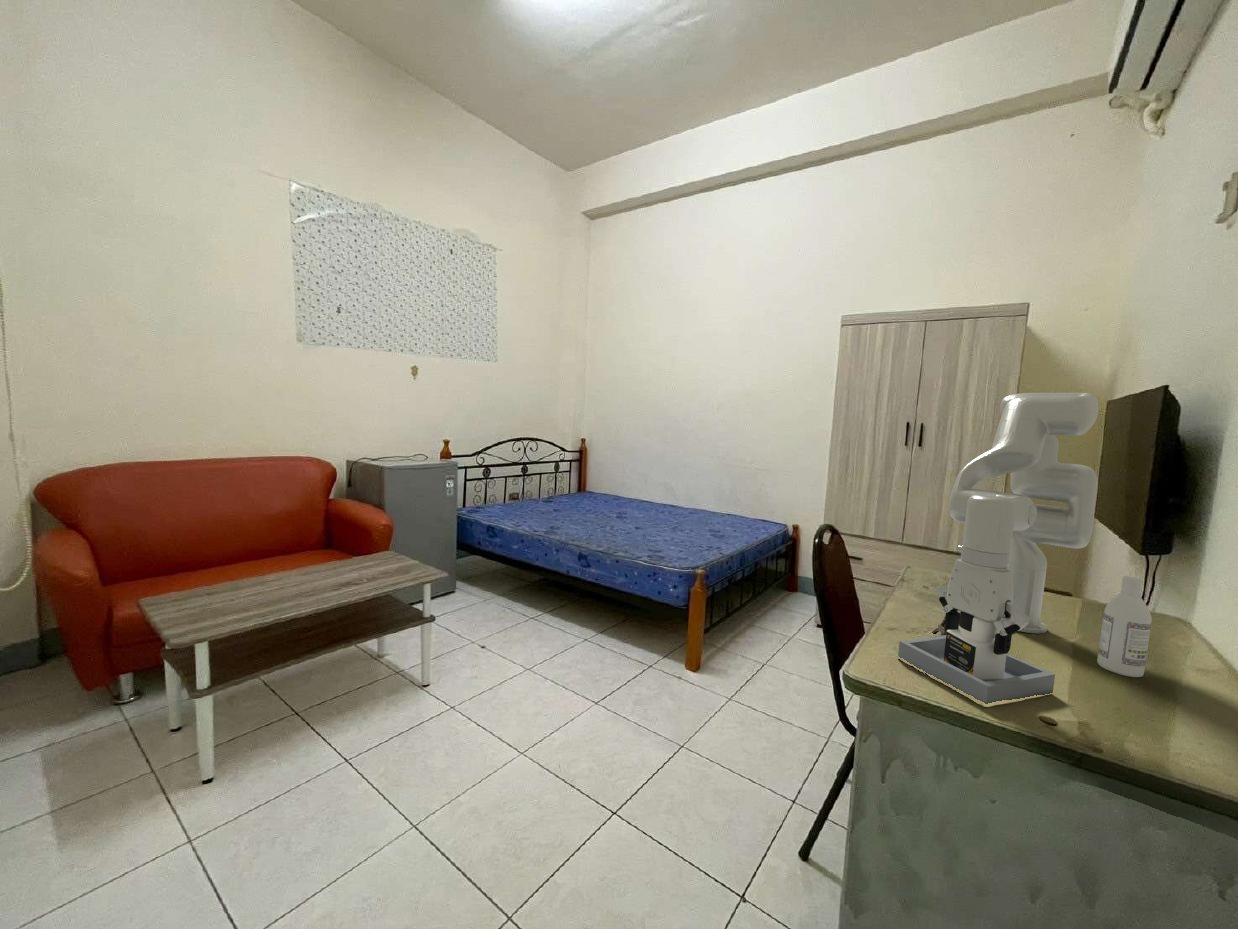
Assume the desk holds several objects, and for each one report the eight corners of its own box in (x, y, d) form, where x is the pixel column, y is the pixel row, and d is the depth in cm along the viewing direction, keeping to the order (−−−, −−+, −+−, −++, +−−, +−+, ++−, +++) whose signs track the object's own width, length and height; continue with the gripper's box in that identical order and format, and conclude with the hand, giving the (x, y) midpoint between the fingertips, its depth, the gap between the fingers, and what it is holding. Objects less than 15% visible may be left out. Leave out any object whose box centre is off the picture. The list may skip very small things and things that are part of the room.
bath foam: (1149, 674, 101) (1163, 581, 99) (1135, 681, 98) (1149, 585, 96) (1105, 659, 107) (1117, 571, 106) (1090, 665, 104) (1103, 574, 103)
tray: (897, 659, 102) (899, 641, 102) (958, 650, 108) (960, 633, 108) (985, 708, 85) (988, 686, 85) (1052, 694, 91) (1055, 674, 91)
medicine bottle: (942, 662, 100) (948, 606, 99) (973, 661, 101) (979, 606, 100) (971, 681, 93) (978, 620, 92) (1004, 680, 94) (1011, 620, 93)
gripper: (929, 547, 102) (921, 625, 103) (1020, 573, 85) (1008, 665, 87) (955, 545, 104) (946, 622, 106) (1048, 570, 88) (1036, 660, 89)
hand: (974, 642), depth 96 cm, fingers open, 9 cm apart
